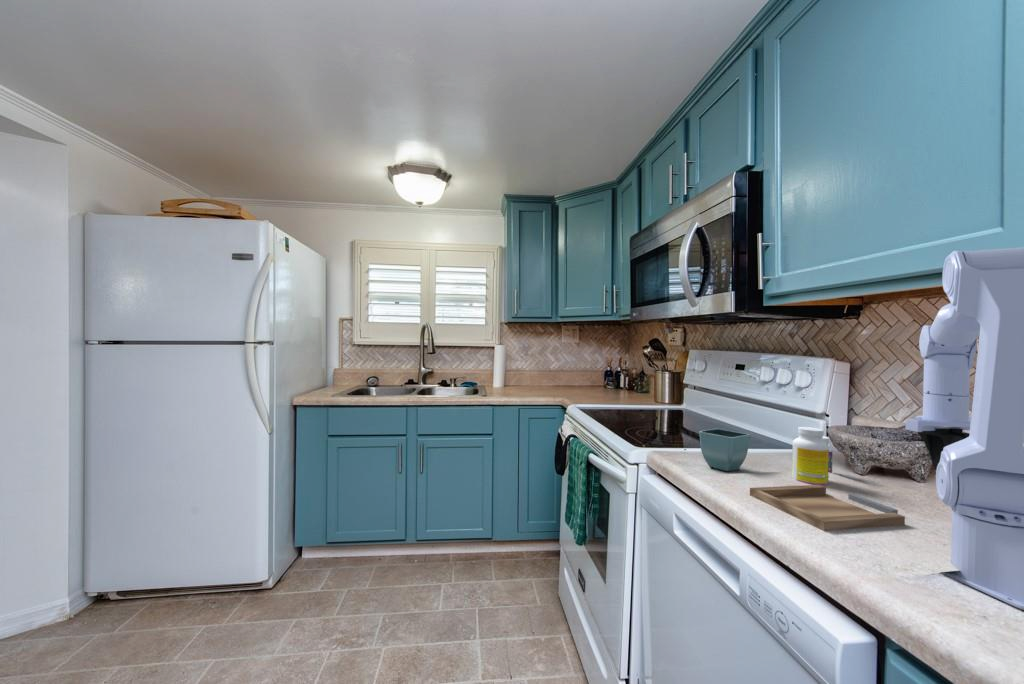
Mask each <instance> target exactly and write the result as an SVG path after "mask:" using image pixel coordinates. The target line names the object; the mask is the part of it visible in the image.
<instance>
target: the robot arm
mask: <svg viewBox="0 0 1024 684" xmlns="http://www.w3.org/2000/svg"><path fill="white" fill-rule="evenodd" d="M942 267H943V268H942V277H941V278H942V279H941V281H942V288H943V291H944V293H945V294H946V296H947V299H948V300H949V303H947V304H945V305H943V306H942V307H941V308H940V309H939V310H938V312H937V314H936V315H935V318H934V320H933V322H932V324H927V325H923V326H922V328H921V331H920V335H919V343H918V344H919V347H918V348H919V353H920V357H922V358H923V389H922V415H916V416H915V417H913V418H912V417H911V418H906V419H905V431H912V432H916V433H917V434H918V435H919V437H920V439H921V440H922V441H923V443H924V445H925V447H926V449H927V450H928V454H929V457H930V460H931V462H932V463H931V464H932V466H933V470H934V471H935V472H936V473H935V484H936V485H935V486H936V492H937V496H938V499H939V500H940V501H941V502H942V503H943V504H944V505H945V506H948V507H950V508H951V532H950V541H951V543H950V563H951V565H952V566H953V567H954V568H956V569H957V570H949V571H941V572H939V573H941V574H942V575H944V576H947V577H949V578H951V579H953V580H956V581H958V582H960V583H962V584H965V585H966V586H969V587H971V588H973V589H976V590H978V591H980V592H982V593H984V594H987V595H989V596H991V597H994V598H995V599H998V600H1000V601H1003V602H1004V603H1006V604H1009V605H1011V606H1014V607H1015V608H1018V609H1020V610H1023V611H1024V246H1021V247H1008V248H1007V247H1006V248H996V249H995V248H994V249H993V248H991V249H979V250H964V251H962V250H960V249H959V250H953V251H952V252H950V253H949V255H947V256H946V257H945V260H944V263H943V266H942ZM978 337H979V338H978ZM977 338H978V339H977ZM976 353H977V355H976ZM975 355H976V366H975V365H974V363H975V361H974V359H975ZM974 366H975V375H974V376H975V377H974V383H973V384H974V387H973V394H972V395H973V396H972V407H971V416H970V386H971V383H970V382H971V381H970V380H971V378H970V377H971V370H973V368H974ZM963 431H964V432H963ZM965 431H969V433H968V432H965Z"/></svg>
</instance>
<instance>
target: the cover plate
mask: <svg viewBox="0 0 1024 684" xmlns="http://www.w3.org/2000/svg"><path fill="white" fill-rule="evenodd" d="M847 498H848V500H850V501H852V502H855V503H858V504H860V505H864V506H866V507H868V508H871V509H874V510H877V511H880V512H881V513H897V514H899V510H898V509H897V508H894V507H891V506H888V505H885V504H883V503H879V502H877V501H875V500H872V499H869V498H866V497H863V496H860V495H858V494H854V493H848V495H847Z"/></svg>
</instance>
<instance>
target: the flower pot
mask: <svg viewBox="0 0 1024 684" xmlns="http://www.w3.org/2000/svg"><path fill="white" fill-rule="evenodd" d="M698 434H699V443H700V451H701V454H702V457H703V459H704V461H705V462H706V464H707V465H708V467H710V468H712V467H713V468H714V469H716V470H717V469H718V470H721V471H723V472H731V471H736V470H739V469H740V468H741V466H742V465H743V463H744V462H745V460H746V458H747V454H748V451H749V446H750V445H749V444H750V438H751V434H748V433H744V432H738V431H733V430H727V429H723V428H722V429H721V428H712V429H706V430H699V431H698Z"/></svg>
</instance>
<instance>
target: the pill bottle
mask: <svg viewBox="0 0 1024 684" xmlns="http://www.w3.org/2000/svg"><path fill="white" fill-rule="evenodd" d="M822 440H823V441H824V442H826V443H827V444H828V446H829V445H830V437H829V436H825V435H823V437H822ZM833 452H834V451H833V448H832V447H831V446H829V467H828V474H829V473H830V474H833V457H834V456H833V455H834V454H833Z"/></svg>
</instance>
